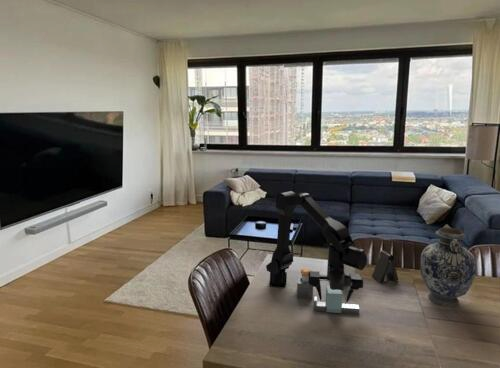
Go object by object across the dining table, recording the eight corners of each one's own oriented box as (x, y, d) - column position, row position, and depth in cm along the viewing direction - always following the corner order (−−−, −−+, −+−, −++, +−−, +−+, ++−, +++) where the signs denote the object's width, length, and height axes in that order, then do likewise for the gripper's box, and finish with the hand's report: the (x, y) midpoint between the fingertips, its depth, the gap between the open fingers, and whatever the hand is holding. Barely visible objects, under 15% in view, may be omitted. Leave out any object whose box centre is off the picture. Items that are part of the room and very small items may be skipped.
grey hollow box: (296, 297, 137) (297, 283, 136) (296, 290, 143) (297, 276, 142) (312, 298, 137) (313, 284, 136) (311, 291, 143) (312, 277, 141)
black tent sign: (379, 283, 150) (382, 256, 148) (371, 276, 156) (373, 251, 153) (398, 280, 152) (400, 254, 150) (389, 274, 158) (392, 249, 155)
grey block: (326, 312, 126) (328, 293, 125) (325, 303, 132) (326, 285, 131) (341, 313, 126) (342, 294, 124) (339, 304, 132) (340, 286, 130)
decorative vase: (478, 318, 124) (488, 242, 119) (420, 309, 130) (427, 236, 125) (464, 290, 144) (472, 224, 139) (414, 284, 150) (420, 220, 145)
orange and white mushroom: (300, 289, 138) (300, 272, 137) (300, 284, 141) (300, 268, 140) (309, 289, 137) (310, 273, 136) (309, 285, 141) (310, 268, 140)
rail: (313, 310, 128) (314, 300, 128) (313, 306, 131) (313, 296, 131) (359, 314, 127) (359, 303, 126) (357, 309, 130) (358, 299, 129)
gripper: (310, 268, 119) (308, 311, 122) (367, 272, 116) (364, 315, 119) (309, 255, 129) (307, 295, 133) (361, 258, 127) (358, 298, 130)
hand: (333, 301), depth 128 cm, fingers open, 9 cm apart
